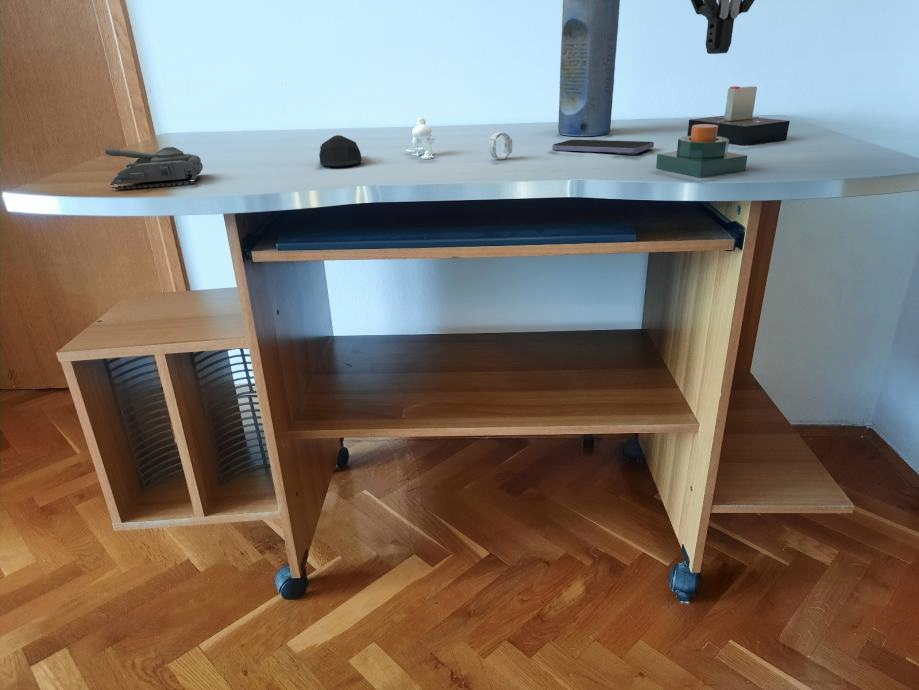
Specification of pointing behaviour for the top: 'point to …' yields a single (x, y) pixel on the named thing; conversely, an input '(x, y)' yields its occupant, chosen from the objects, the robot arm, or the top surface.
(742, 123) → the dial panel
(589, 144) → the smartphone
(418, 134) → the figurine
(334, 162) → the gaming mouse
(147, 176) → the tank toy
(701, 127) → the orange short cylinder
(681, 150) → the green peg socket
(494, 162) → the top surface
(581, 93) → the bottle
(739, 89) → the white block
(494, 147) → the smartwatch
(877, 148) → the top surface
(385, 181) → the top surface
